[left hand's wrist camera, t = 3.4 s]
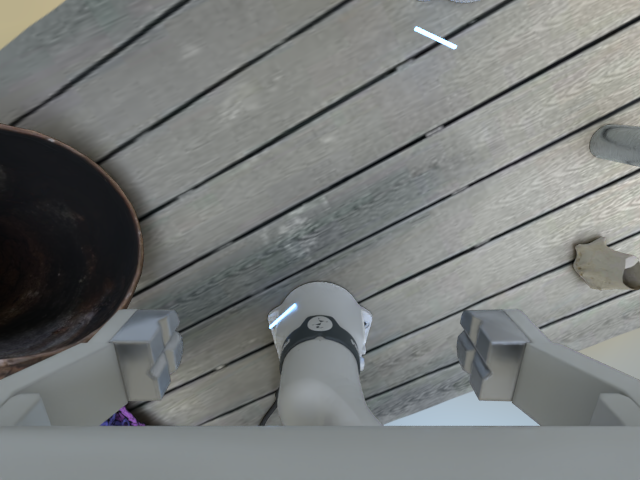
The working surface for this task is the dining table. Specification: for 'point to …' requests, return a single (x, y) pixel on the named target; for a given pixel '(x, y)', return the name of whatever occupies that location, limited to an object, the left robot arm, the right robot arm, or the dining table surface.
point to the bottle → (617, 144)
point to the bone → (606, 267)
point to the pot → (59, 248)
